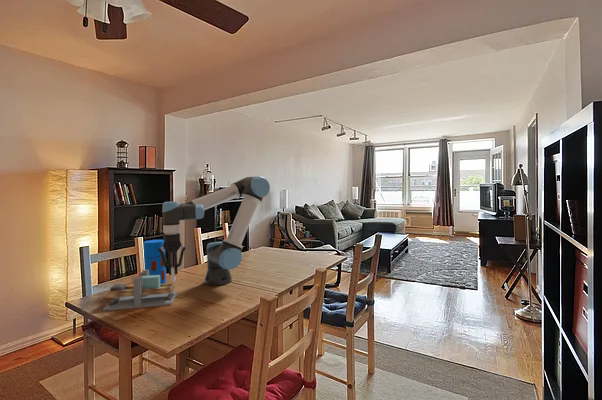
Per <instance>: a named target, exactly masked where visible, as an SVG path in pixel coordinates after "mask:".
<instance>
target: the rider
mask: <svg viewBox="0 0 602 400" xmlns="http://www.w3.org/2000/svg"><path fill="white" fill-rule="evenodd" d="M142 277H143V289H150V288H160V287H161V286H160V275H150V276H142Z"/></svg>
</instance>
